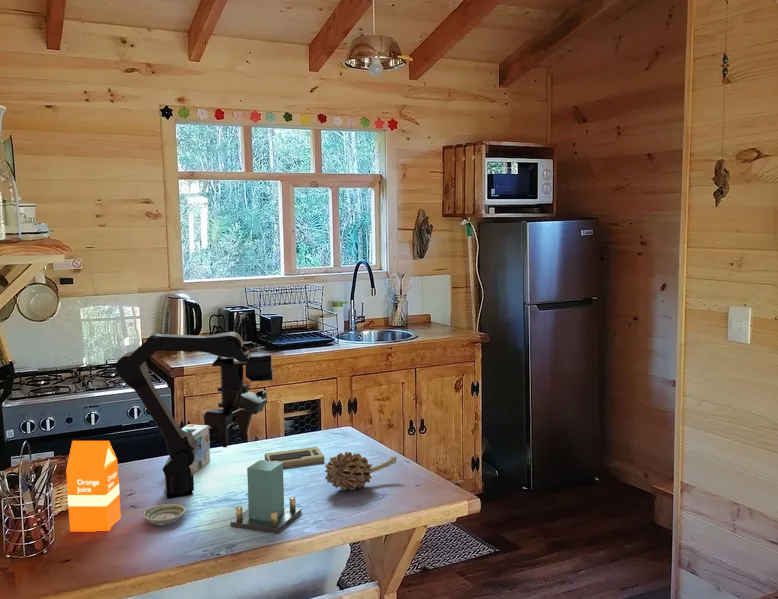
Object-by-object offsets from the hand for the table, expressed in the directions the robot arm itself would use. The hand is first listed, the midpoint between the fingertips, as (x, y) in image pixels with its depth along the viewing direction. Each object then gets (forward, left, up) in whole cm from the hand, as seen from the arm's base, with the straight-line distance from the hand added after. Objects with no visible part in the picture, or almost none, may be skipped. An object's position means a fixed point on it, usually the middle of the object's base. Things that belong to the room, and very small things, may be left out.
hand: (234, 441), depth 192 cm
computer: (+20, +16, -14) cm, 29 cm away
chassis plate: (+3, -22, -13) cm, 25 cm away
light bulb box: (-8, +24, -13) cm, 29 cm away
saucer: (-19, -12, -13) cm, 26 cm away
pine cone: (+31, -10, -13) cm, 35 cm away
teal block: (+3, -22, -12) cm, 25 cm away
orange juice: (-34, -8, -13) cm, 37 cm away
